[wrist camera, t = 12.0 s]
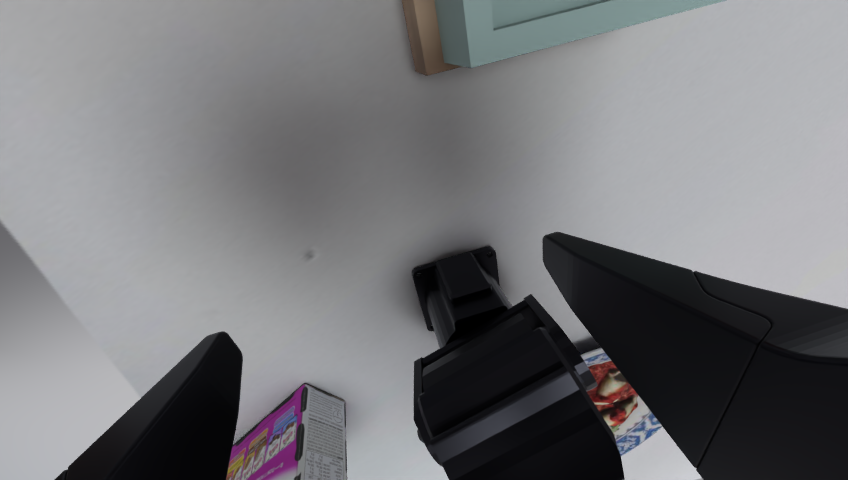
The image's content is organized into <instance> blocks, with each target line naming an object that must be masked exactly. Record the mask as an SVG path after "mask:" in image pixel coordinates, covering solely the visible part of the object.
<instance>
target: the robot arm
mask: <svg viewBox="0 0 848 480" xmlns="http://www.w3.org/2000/svg"><path fill="white" fill-rule="evenodd" d="M489 252H491V253H490V254H489V255H487V253H489ZM543 262H544V265H545V267H546V269H547V270H548V272H549V274H550V275H551V277H552V279H553V280H554V282H555V284H556V285H557V287H558V289H559V290H560V292H561V293H562V295H563V297H564V298H565V300H566V302H567V303H568V305H569V306H570V308H571V309H572V311H573V312H574V313H575V315H576V316H577V317H578V319H579V320H580V321H581V322H582V324H583V325H584V326H585V328H586V329H587V330H588V331H589V333H590V334H591V335H592V337H593V338H594V339H595V340H596V342H597V343H598V344H599V345H600V347H601V348H602V349H603V351H604V352H605V353H606V354H607V356H608V357H609V358H610V360H611V361H612V362H613V363H614V365H615V366H616V367H617V369H618V370H619V371H620V372H621V374H622V375H623V376H624V378H625V379H626V380H627V381H628V383H629V384H630V385H631V387H632V388H633V389H634V390H635V392H636V393H637V394H638V396H639V397H640V398H641V399H642V401H643V402H644V403H645V405H646V406H647V407H648V408H649V410H650V411H651V412H652V414H653V415H654V416H655V417H656V419H657V420H658V421H659V422H660V424H661V425H662V426H663V428H664V429H665V430H666V431H667V433H668V434H669V435H670V437H671V438H672V439H673V440H674V442H675V443H676V444H677V446H678V447H679V448H680V449H681V451H682V452H683V453H684V455H685V456H686V457H687V458H688V460H689V461H690V462H691V464H692V465H693V466H694V467H695V468H697V469H696V470H697V472H698V473H699V474H700V475H701V477H702V478H703V479H704V480H848V309H846V308H842V307H837V306H833V305H829V304H824V303H820V302H816V301H811V300H807V299H803V298H798V297H794V296H790V295H785V294H781V293H777V292H773V291H768V290H764V289H760V288H756V287H752V286H748V285H744V284H740V283H736V282H732V281H729V280H725V279H721V278H718V277H714V276H711V275H707V274H704V273H700V272H697V271H694V272H693V271H692V270H690V269H686V268H683V267H679V266H676V265H672V264H669V263H665V262H662V261H658V260H655V259H651V258H648V257H644V256H641V255H637V254H634V253H630V252H627V251H623V250H620V249H616V248H613V247H609V246H606V245H603V244H599V243H596V242H592V241H589V240H585V239H582V238H578V237H575V236H571V235H568V234H564V233H561V232H554V233H551V234H548V235H545V236H544V237H543ZM418 273H422V274H421V275H418V276H417V274H418ZM412 276H413V280H414V283H415V287H416V290H417V294H418V297H419V301H420V304H421V308H422V311H423V315H424V318H425V322H426V325H427V329H428V330H429V331H435V334H436V337H437V340H438V344H439V347H440V349H438V350H437V351H435V352H433V353H431V354H430V355H428V356H426V357H425V358H420V359H418V360H416V361H414V421H415V424H416V426H417V428H418V431H417V433H418V437H419V439H420V440H421V441H422V442H423V443H425V445H426V447H427V449H428V451H429V452H430V454H431V456H432V457H433V458H434V460H435V461H436V462H437V463H438V464H439V465H440V466H442V467H443V468H444V470H445V472H446V474H447V476H448V478H449V480H624V473H623V467H622V461H621V456H620V452H619V450H618V448H617V446H616V440H615V436H614V434H613V432H612V430H611V429H610V427H609V426H608V424H607V423H606V421H605V419H604V418H603V416H602V415H601V413H600V412H599V410H598V409H597V407H596V406H595V404H594V402H593V401H592V399H591V398H590V396H589V395H588V393H587V391H590V390H591V389H593V388H595V387H597V386H598V385H597V382H596V380H595V378H594V376H593V374H592V373H591V371H590V369H589V368H588V366H587V365H586V363H585V361H584V360H583V358H582V357H581V355H580V354H579V352H578V351H577V349H576V348H575V346H574V345H573V344H572V342H571V341H570V339H569V338H568V337H567V335H566V334H565V333H564V331H563V330H562V329H561V328H560V326H559V325H558V324H557V323H556V322H555V321H554V320H553V318H552V317H551V316H550V315H549V314H548V313H547V312H546V310H545V309H544V308H543V307H542V306H541V305H540V304H539V302H538V301H537V300H536V299H535V298H534V297H533V296H532V294H530V295H529V296H527V297H525V298H524V300H523V301H522V302H520V303H518V304H516V305H515V306H513V307H512V305H511V304H510V302H509V301H508V299H507V297H506V296H505V294H504V293H503V291H502V290H501V288H500V287H499V277H498V268H497V259H496V252H495V250H494V249H493V248H492V247H485V248H482V249H478V250H475V251H471V252H467V253H463V254H460V255H457V256H453V257H450V258H446V259H443V260H440V261H437V262H434V263H431V264H427V265H424V266H421V267H417V268H415V269H414V270H413V271H412ZM431 325H433V326H431ZM242 362H243V357H242V353H241V351H240V349H239V348H238V346H237V345H236V344H235V343H234V341H233V340H232V339H231V337H230V336H229V335H228V334H227V333H226V332H218V333H215V334H211V335H208V336H207V337H205V338H204V339H203V340H202V341H201V342H200V343H199V344H198V345H197V346H196V347H195V348H194V349H193V350H192V351H190V352H189V353H188V354H187V355H186V356H185V357H184V358H183V359H182V360H181V361H180V362H179V363H178V364H177V365H176V366H175V367H174V368H172V369H171V370H170V371H169V372H168V373H167V374H166V375H165V376H164V377H163V378H162V379H161V380H160V381H159V382H158V383H157V384H156V385H154V386H153V387H152V388H151V389H150V390H149V391H148V392H147V393H146V394H145V395H144V396H143V397H142V398H141V399H140V400H139V401H138V402H136V403H135V405H134V406H132V407H131V408H130V409H129V410H128V411H127V412H126V413H125V414H124V415H123V416H122V417H121V418H120V419H118V420H117V421H116V422H115V423H114V424H113V425H112V426H111V427H110V428H109V429H108V430H107V431H106V432H105V433H104V434H103V435H102V436H100V437H99V438H98V439H97V440H96V441H95V442H94V443H93V444H92V445H91V446H90V447H89V448H88V449H87V450H86V451H85V452H84V453H82V454H81V455H80V456H79V457H78V458H77V459H76V460H75V461H74V462H73V463H72V464H71V465H70V466H69V467H68V470H65V471H63V472H62V473H61V474H60V475H59V476H58V477H57V478H56V479H55V480H226V478H227V473H228V467H229V462H230V457H231V451H232V446H233V441H234V435H235V430H236V425H237V419H238V412H239V402H240V389H241V376H242Z"/></svg>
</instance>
